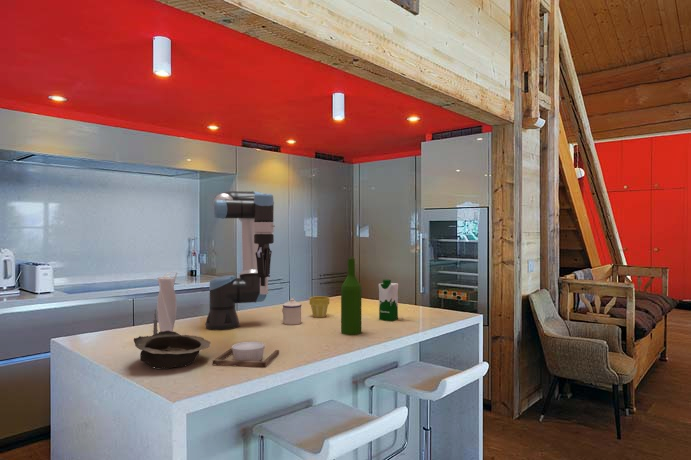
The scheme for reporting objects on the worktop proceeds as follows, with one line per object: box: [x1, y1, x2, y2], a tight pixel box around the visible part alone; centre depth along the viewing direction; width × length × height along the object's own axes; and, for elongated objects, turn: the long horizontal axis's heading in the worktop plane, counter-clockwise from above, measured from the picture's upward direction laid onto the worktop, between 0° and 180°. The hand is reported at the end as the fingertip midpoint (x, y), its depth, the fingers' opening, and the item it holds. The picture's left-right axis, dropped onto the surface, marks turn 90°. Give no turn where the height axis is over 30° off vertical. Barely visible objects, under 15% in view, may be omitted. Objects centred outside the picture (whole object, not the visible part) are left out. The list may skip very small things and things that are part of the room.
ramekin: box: [231, 341, 266, 361], centre depth 155 cm, size 11×11×5 cm
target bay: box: [212, 347, 280, 368], centre depth 156 cm, size 18×15×2 cm
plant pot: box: [308, 295, 330, 318], centre depth 232 cm, size 10×10×10 cm
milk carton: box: [378, 279, 399, 322], centre depth 224 cm, size 9×9×20 cm
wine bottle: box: [340, 257, 362, 336], centre depth 196 cm, size 9×9×32 cm
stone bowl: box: [133, 331, 211, 369], centre depth 153 cm, size 25×25×9 cm
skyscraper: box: [152, 271, 178, 335], centre depth 184 cm, size 8×8×28 cm
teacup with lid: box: [281, 298, 302, 326], centre depth 217 cm, size 12×9×12 cm
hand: (263, 293), depth 174 cm, fingers closed
